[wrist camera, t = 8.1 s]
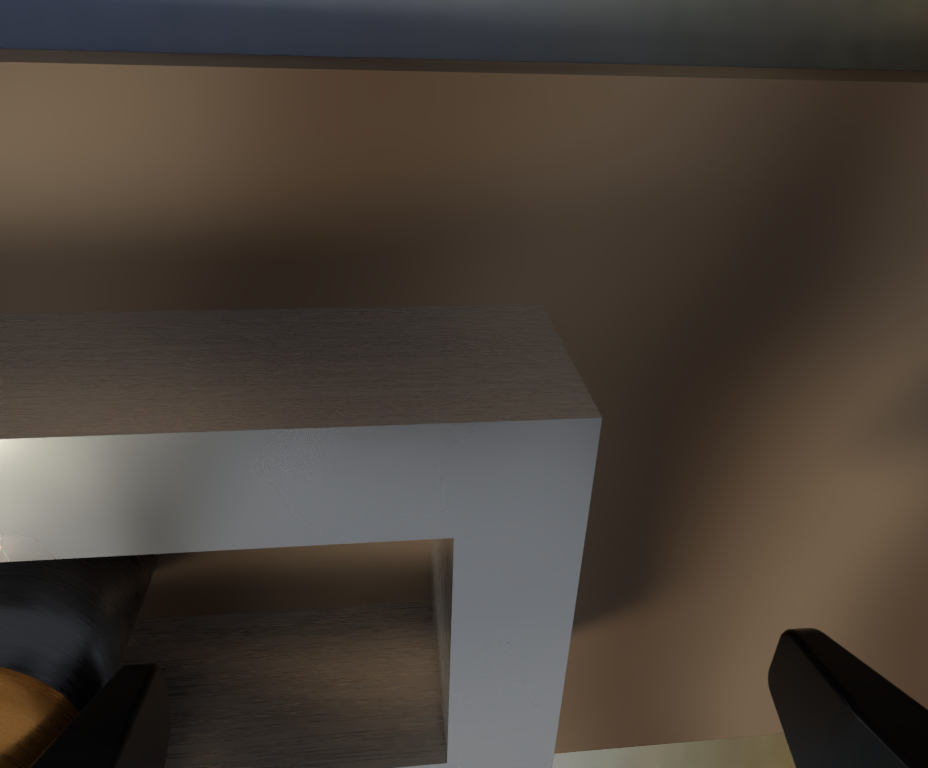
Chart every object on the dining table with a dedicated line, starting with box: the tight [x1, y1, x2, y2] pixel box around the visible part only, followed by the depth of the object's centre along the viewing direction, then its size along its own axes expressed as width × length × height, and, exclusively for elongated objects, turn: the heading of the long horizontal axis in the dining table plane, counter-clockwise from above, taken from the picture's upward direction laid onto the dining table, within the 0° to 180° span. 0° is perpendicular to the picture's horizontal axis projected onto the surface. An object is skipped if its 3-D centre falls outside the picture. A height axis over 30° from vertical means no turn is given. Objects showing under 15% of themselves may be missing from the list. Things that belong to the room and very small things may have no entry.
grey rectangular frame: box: [0, 304, 602, 768], centre depth 10 cm, size 12×7×3 cm, turn 88°
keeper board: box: [0, 49, 928, 753], centre depth 13 cm, size 24×13×2 cm, turn 88°
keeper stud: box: [0, 554, 160, 768], centre depth 9 cm, size 2×2×5 cm
